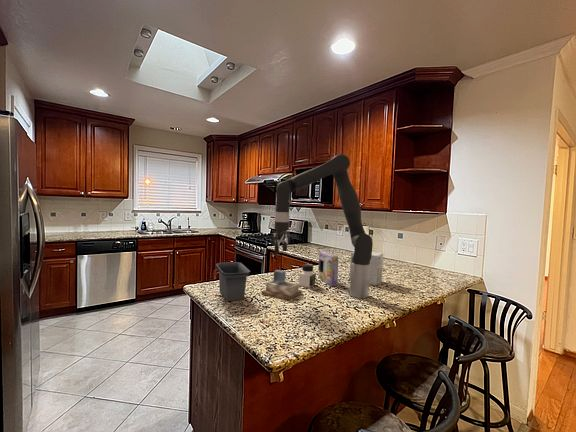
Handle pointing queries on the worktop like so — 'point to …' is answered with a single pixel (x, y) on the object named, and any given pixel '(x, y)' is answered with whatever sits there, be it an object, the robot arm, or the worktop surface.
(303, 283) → the medicine bottle
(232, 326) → the worktop surface
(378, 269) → the supplement box
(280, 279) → the bracket
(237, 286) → the storage bin
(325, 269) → the cake pan box
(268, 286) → the well block
